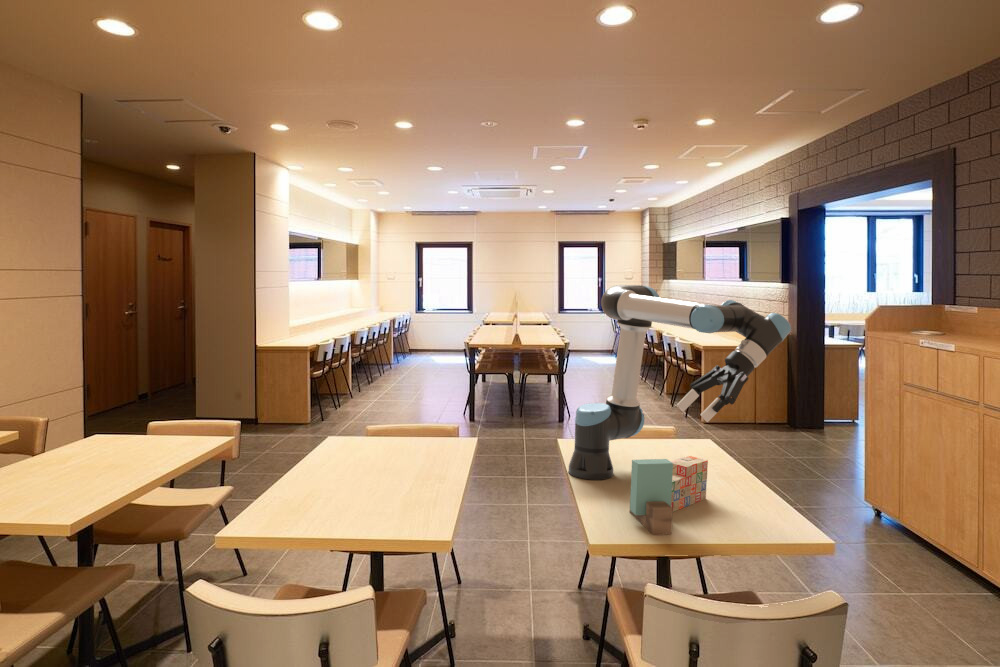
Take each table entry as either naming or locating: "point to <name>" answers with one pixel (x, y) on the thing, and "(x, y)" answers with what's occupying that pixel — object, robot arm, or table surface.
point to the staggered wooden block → (656, 517)
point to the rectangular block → (650, 483)
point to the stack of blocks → (688, 481)
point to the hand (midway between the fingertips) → (691, 413)
